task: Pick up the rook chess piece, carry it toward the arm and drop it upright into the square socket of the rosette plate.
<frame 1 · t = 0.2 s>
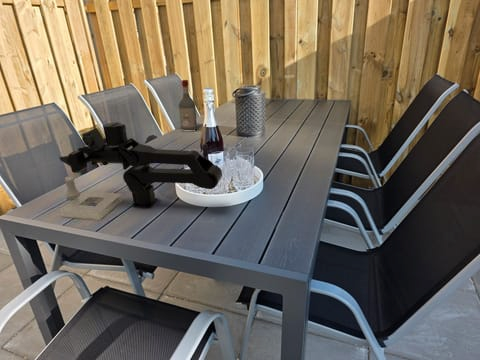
hand: (69, 154, 108), 17 cm above the table, tool horizontal, fingers open, 9 cm apart
rook chess piece: (74, 198, 116), on the table
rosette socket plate: (93, 207, 108), on the table
liquor: (189, 130, 200), on the table
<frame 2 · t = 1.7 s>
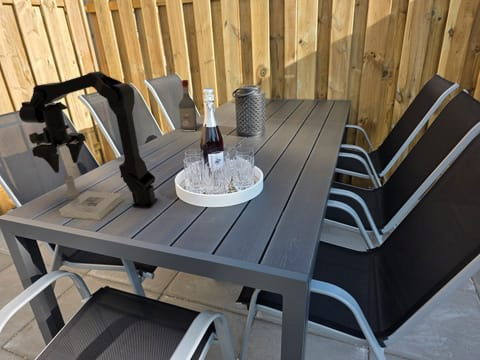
hand: (66, 167, 111), 12 cm above the table, tool pointing down, fingers open, 9 cm apart
nothing on the table moved.
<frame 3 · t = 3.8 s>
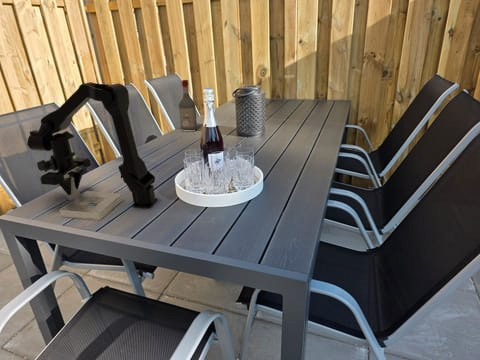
hand: (72, 192, 115), 2 cm above the table, tool pointing down, fingers closed on rook chess piece, 3 cm apart
rook chess piece: (74, 197, 116), on the table, touching gripper
everything else where it was.
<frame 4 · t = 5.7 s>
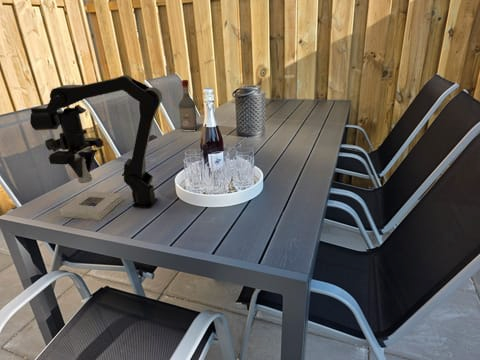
hand: (84, 174, 104), 12 cm above the table, tool pointing down, fingers closed on rook chess piece, 3 cm apart
rook chess piece: (85, 181, 105), point 9 cm above the table, touching gripper
everything else where it was.
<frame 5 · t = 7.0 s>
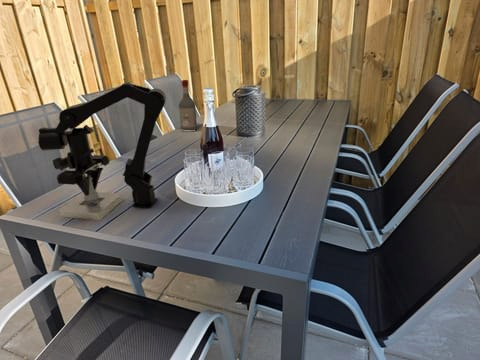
hand: (90, 192, 106), 6 cm above the table, tool pointing down, fingers closed on rook chess piece, 3 cm apart
rook chess piece: (91, 199, 107), point 3 cm above the table, touching gripper
everything else where it was.
when the fingers open (3 cm above the table, at t = 8.1 s): rook chess piece drops 1 cm, resting in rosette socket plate.
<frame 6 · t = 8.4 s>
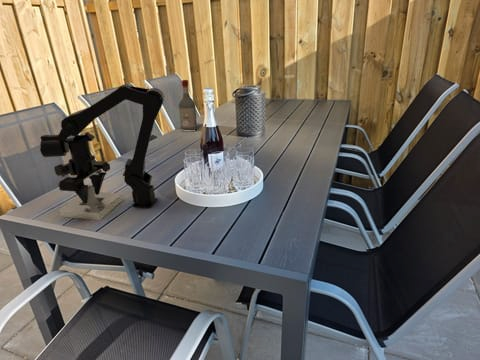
hand: (91, 198, 107), 3 cm above the table, tool pointing down, fingers open, 6 cm apart
rook chess piece: (93, 208, 108), resting in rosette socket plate
everything else where it was.
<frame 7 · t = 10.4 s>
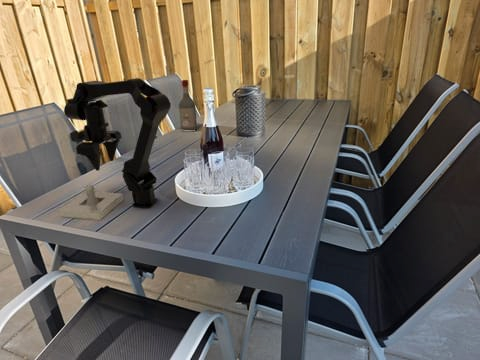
hand: (104, 165, 111), 12 cm above the table, tool pointing down, fingers open, 9 cm apart
nothing on the table moved.
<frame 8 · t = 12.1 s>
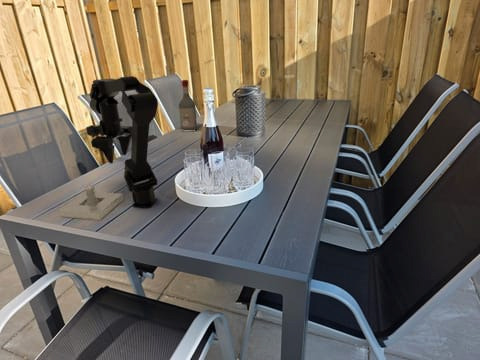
hand: (118, 158, 117), 12 cm above the table, tool pointing down, fingers open, 9 cm apart
nothing on the table moved.
at the end: rook chess piece 0.1 cm off-centre on the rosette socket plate, point 0.0 cm above the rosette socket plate's base; rook chess piece tilted 0°; the gripper is holding nothing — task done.
